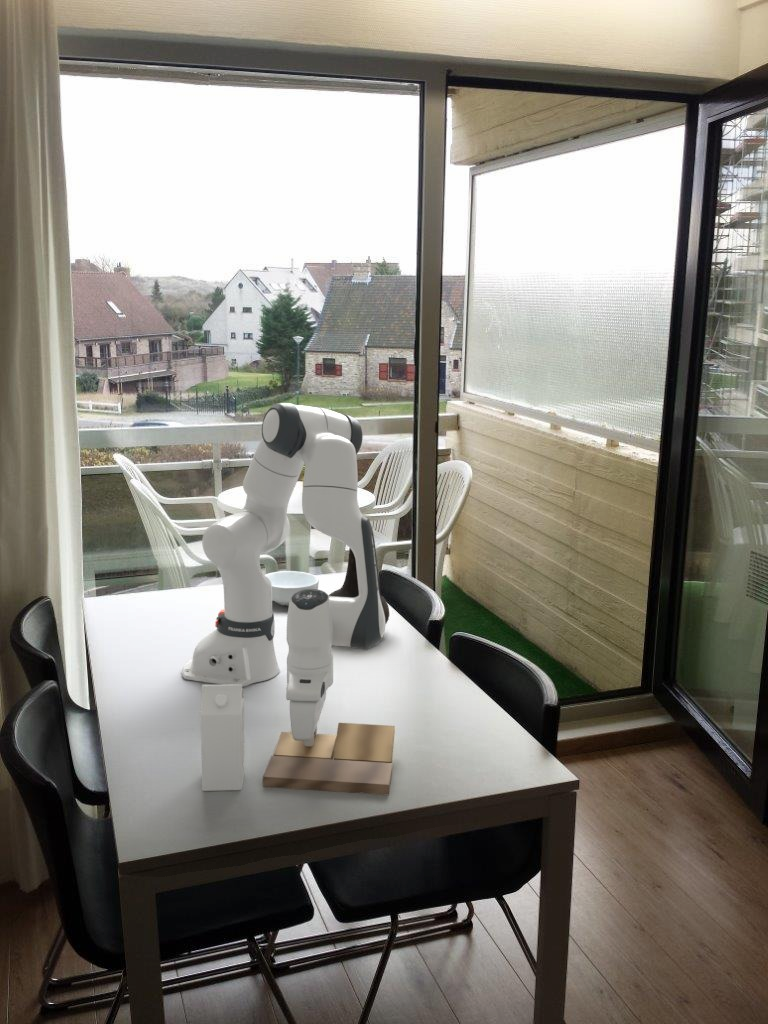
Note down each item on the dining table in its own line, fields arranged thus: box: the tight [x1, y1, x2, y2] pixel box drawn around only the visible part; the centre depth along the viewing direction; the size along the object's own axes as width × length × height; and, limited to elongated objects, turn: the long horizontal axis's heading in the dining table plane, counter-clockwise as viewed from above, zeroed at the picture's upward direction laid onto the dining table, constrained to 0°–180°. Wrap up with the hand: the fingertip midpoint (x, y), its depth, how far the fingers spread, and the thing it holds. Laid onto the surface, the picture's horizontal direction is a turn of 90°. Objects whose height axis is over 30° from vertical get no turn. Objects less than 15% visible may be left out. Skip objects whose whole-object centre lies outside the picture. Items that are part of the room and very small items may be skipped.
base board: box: [262, 755, 393, 795], centre depth 172 cm, size 23×8×2 cm, turn 85°
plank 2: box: [333, 722, 396, 764], centre depth 180 cm, size 11×8×2 cm
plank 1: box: [273, 731, 337, 760], centre depth 181 cm, size 11×8×2 cm
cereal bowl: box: [264, 570, 320, 607], centre depth 272 cm, size 17×17×7 cm
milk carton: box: [199, 684, 245, 792], centre depth 169 cm, size 7×7×19 cm
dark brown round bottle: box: [328, 548, 390, 626], centre depth 243 cm, size 18×18×28 cm
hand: (310, 740), depth 182 cm, fingers closed
